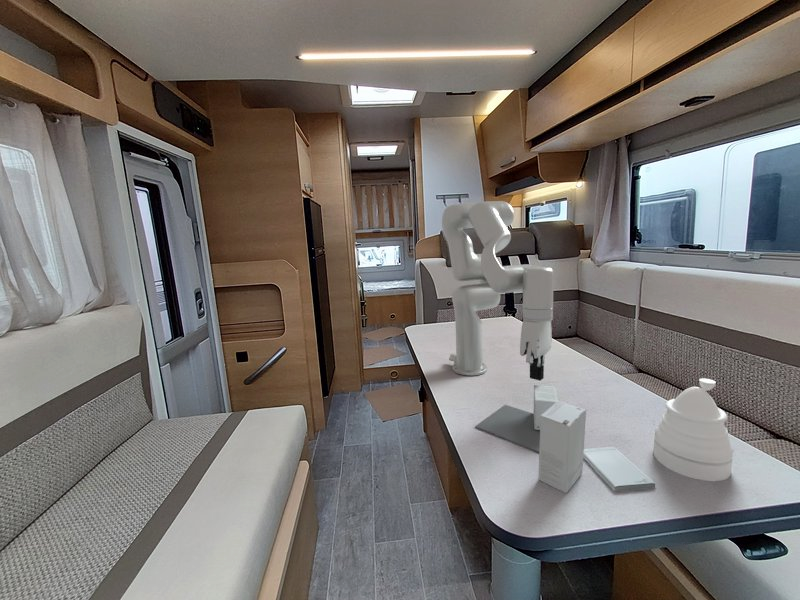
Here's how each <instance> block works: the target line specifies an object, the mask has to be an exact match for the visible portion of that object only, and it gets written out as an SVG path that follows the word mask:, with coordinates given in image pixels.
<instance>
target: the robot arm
mask: <svg viewBox="0 0 800 600" xmlns="http://www.w3.org/2000/svg"><path fill="white" fill-rule="evenodd" d="M514 218H515V212H514V209H513V207H512V206H511V204H510V203H509V202H507V201H504V200H499V201H498V200H497V201H496V200H495V201H494V200H493V201H492V200H490V201H479V202H476V203H474V202H472V203H469V202H467V203H466V202H465V203H455V204H450V205H448V206H447V207H446V208H445V209H444V210H443V212H442V217H441V226H442V227H441V228H442V231H443V235H444V238H445V239H446V242H447V246H448V251H449V257H450V263H451V264H450V266H451V271H452V276H453V278H454V279H455V280H456V281H457V282H474V281H479V283H474V284H465V285H461V286H458V287H456V288H455V289H454V290H453V292H452V294H451V301H452V305H453V310H454V319H455V322H454V324H455V353H456V354H454V353H451V354H450V355H449V358H448V360H449V361H450V362H453V365H452V371H453V372H454V373H456V374H458V375H461V376H468V377H469V376H471V377H472V376H473V377H474V376H478V375H479V376H480V375H483V374H485V373H486V372H487V371H488V366H487V365H486V364H485V363H483V361H484V360H483V359H484V357H483V323H482V322H483V321H482V319H481V318H480V317H479V315H478V313H477V312H478V311H483V310H484V311H485V310H491V309H494V308H497V307H498V306H499V304H500V303H501V294H510V293H518V292H522V319H523V320H522V324H521V330H520V341H519V342H520V344H519V354H520V356H522V357H523V356H526V357H525V363H528V365H529V378H530V379H532V380H536V381H542V380H543V379H544V378H545V375H544V372H545V371H544V370H545V367H544V366H545V359H546V355H547V353H548V352H549V351H551V349H552V343H553V342H552V339H553V337H552V334H553V332H552V321H553V320H554V319H553V318H554V284H555V283H554V282H555V280H554V277H555V276H554V273H555V272H554V270H553V269H552V268H551V267H547V266H536V265H533V264H526V263H525V264H516V265H515V264H514V265H501V264H500V262H499V260H498V258H497V256H496V254H497V253H499V252H501V251H502V250H504V249H505V248H507V246H508V245H509V244H510V242H511V240H512V234H511V232H510V231H509V229H508V227H509V226H511V224H512V223H513V221H514ZM464 229H474V231H475V233H476V235H477V236H478V238H479V240H480V243H481V244H482V245H483V249H482V252H481V253H475V252H474V246H473V245H474V244H473V241H472V239H471V238H470V236H469V234H468V233H467V232H466V231H464Z"/></svg>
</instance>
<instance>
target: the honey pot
mask: <svg viewBox="0 0 800 600" xmlns="http://www.w3.org/2000/svg"><path fill="white" fill-rule="evenodd" d="M698 380H699V382H698V383H699V386H700V387H699V386H691V387H688V388H686V389H684V390H683V391H682V392H681V393H679V394H678V396H676V398H672V399H669V400H667V401H666V402H665V409H666V411H665V413H663V415H662V416H661V420H660V421H659V424H658V425H657V426H656V427H655V429H654V440H653V441H654V442H653V451H652V452H653V456H654V458H655V459H656V460H657V461H658V462H659V463H660V464H662V465H663V466H664V467H666V468H667V469H668V470H671V471H673V472H675V473H677V474H680V475H682V476H685V477H688V478H692V479H695V480H699V481H706V482H720V481H725V480H727V479H728V478H730V476H731V475H732V474H731V473H732V468H733V467H732V465H733V457H734V454H733V453H734V448H733V444H732V442H731V439H730V435H729V430H728V428H727V427H726V425H725V423H726V422H727V420H728V414H727V413H726V412H725V411H724V410H723V409H721V408H720V407H718V406H717V404H716V401H715V400H714V399H713V398H712V396H711V395H710V393H708V392H707V391H711V390H713V389H714V388H715V386H716V383H717V382H716V381H715V380H713V379H710V378H705V377H702V378H699V379H698Z"/></svg>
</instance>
